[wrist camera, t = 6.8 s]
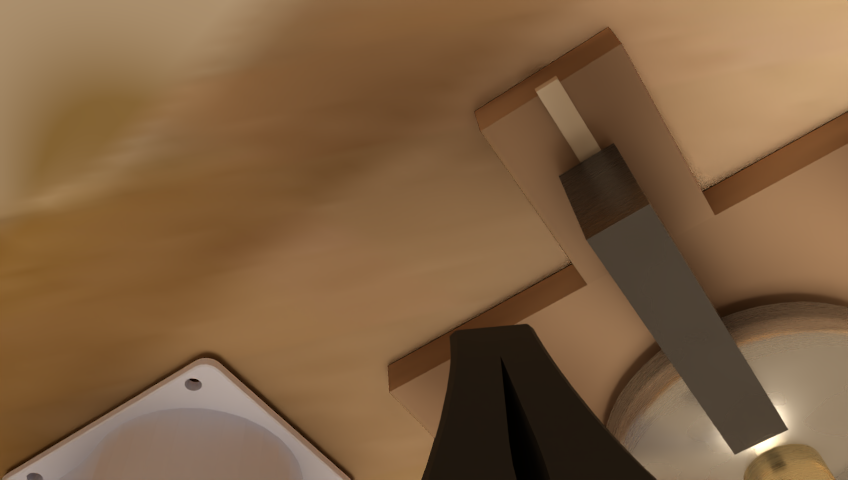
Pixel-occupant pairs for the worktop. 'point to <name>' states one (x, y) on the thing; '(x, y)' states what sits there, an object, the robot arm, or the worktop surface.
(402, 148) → the worktop surface
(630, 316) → the walnut stand
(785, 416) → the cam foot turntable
